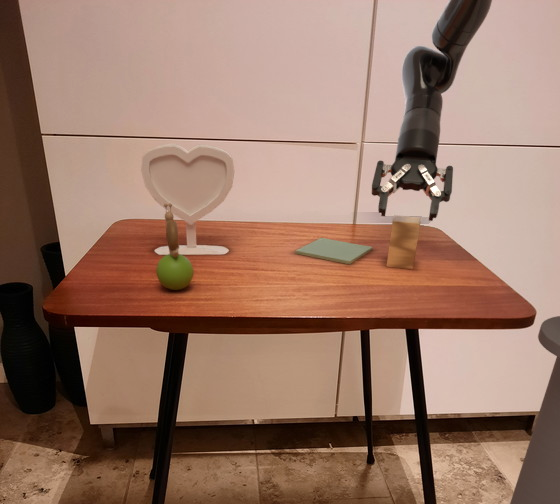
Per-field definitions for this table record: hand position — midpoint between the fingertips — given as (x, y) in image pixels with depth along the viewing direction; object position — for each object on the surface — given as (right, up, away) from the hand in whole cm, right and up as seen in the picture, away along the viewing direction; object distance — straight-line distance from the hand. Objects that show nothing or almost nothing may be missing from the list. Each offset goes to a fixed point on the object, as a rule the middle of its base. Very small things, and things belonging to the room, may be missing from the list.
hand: (407, 216), depth 99 cm
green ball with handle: (-39, -15, -15) cm, 45 cm away
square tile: (-13, -5, +4) cm, 14 cm away
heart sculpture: (-39, -6, +2) cm, 40 cm away
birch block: (-1, -9, -1) cm, 9 cm away
